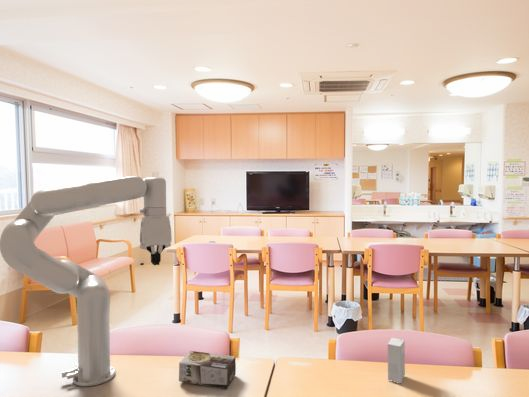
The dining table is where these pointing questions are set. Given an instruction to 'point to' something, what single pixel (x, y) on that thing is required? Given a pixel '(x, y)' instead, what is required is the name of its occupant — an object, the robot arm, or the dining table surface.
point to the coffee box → (207, 369)
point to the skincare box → (396, 360)
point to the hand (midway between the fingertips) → (155, 264)
